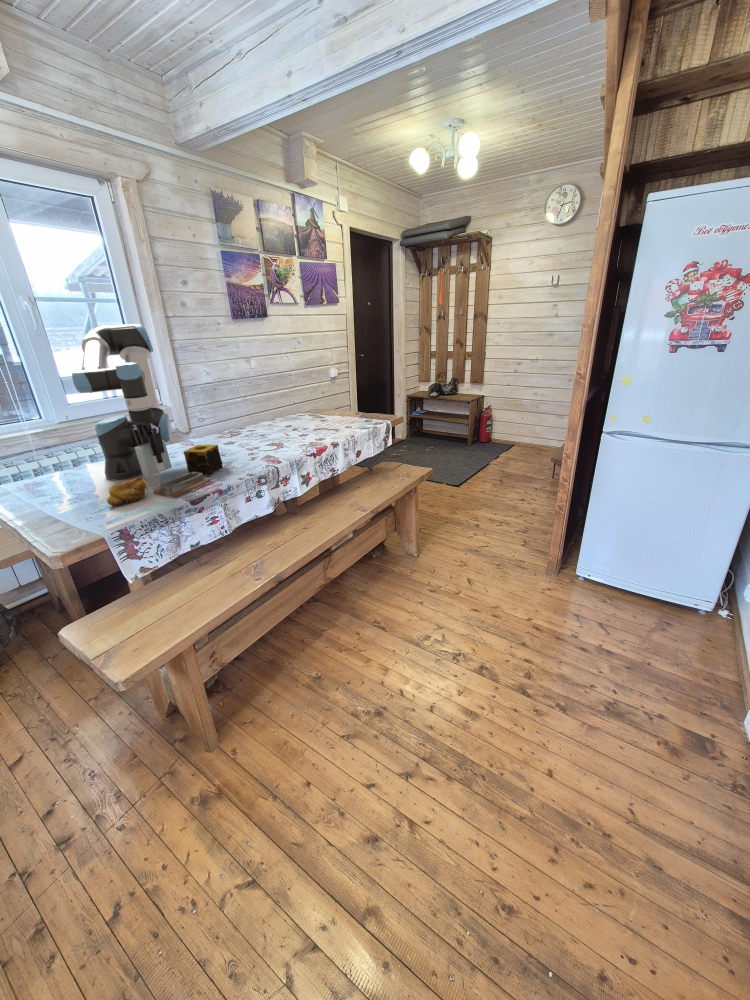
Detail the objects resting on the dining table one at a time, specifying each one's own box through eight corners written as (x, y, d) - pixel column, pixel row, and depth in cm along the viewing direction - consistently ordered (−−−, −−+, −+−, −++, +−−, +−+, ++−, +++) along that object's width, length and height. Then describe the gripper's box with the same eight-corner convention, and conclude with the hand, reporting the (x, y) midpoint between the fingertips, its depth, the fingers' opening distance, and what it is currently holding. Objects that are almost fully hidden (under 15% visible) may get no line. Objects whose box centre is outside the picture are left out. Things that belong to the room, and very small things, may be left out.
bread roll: (113, 510, 140) (105, 488, 136) (103, 503, 146) (95, 482, 142) (152, 497, 148) (146, 476, 145) (141, 491, 154) (135, 471, 151)
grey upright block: (142, 475, 156) (134, 447, 151) (165, 466, 164) (157, 439, 159) (149, 476, 154) (141, 448, 149) (172, 467, 162) (164, 440, 157)
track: (153, 493, 151) (151, 485, 150) (188, 478, 164) (186, 470, 163) (176, 497, 146) (174, 489, 145) (211, 481, 159) (209, 474, 158)
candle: (210, 475, 166) (205, 451, 162) (188, 475, 168) (182, 451, 164) (223, 467, 175) (218, 444, 171) (202, 467, 177) (197, 444, 173)
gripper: (114, 409, 149) (134, 470, 159) (146, 412, 142) (164, 476, 152) (133, 405, 155) (151, 464, 165) (164, 407, 148) (180, 469, 158)
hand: (157, 469), depth 159 cm, fingers closed on grey upright block, 3 cm apart
